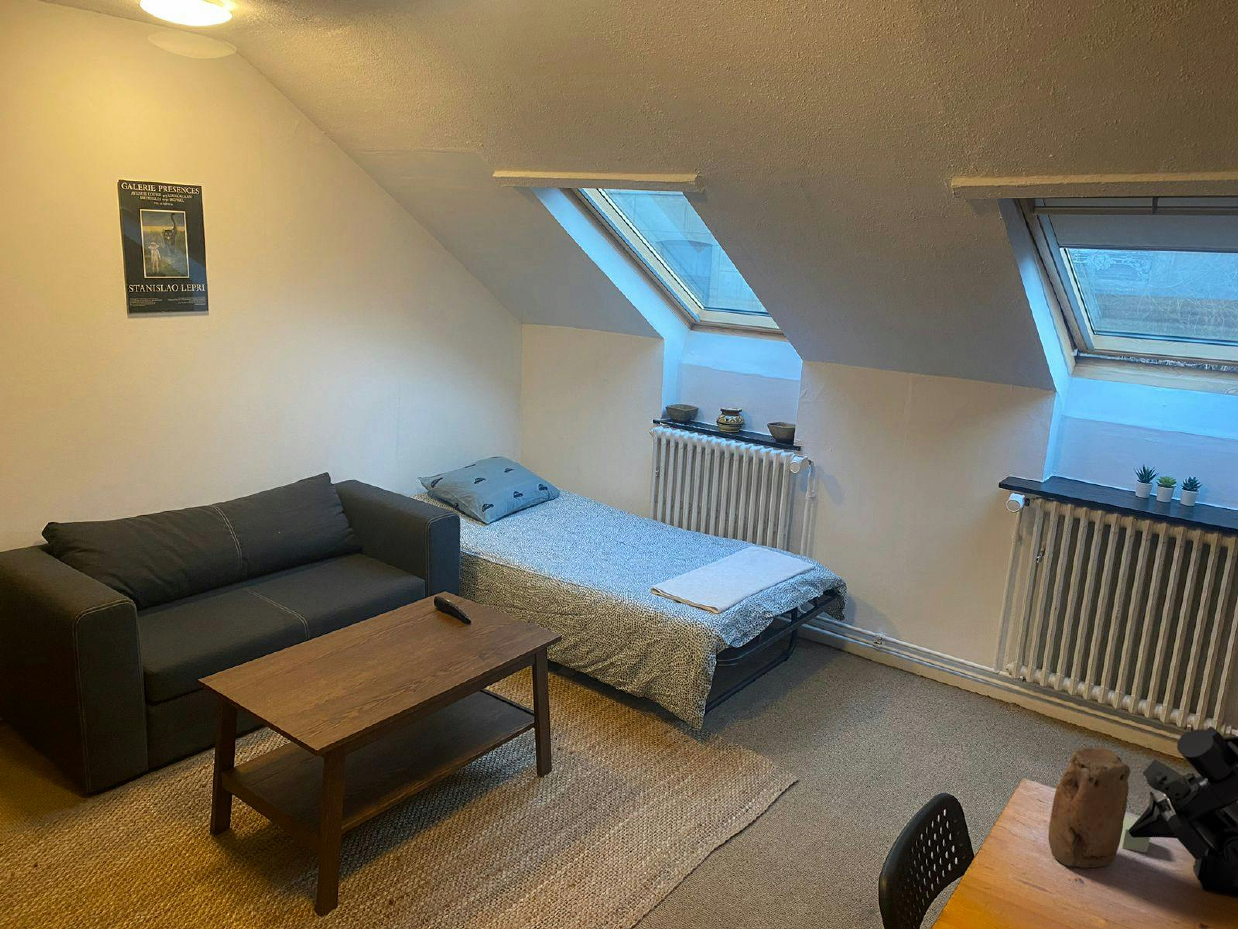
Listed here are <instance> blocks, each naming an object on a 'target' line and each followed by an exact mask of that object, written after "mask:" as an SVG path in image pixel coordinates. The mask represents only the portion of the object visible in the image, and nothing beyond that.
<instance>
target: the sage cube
mask: <svg viewBox="0 0 1238 929" xmlns="http://www.w3.org/2000/svg"><path fill="white" fill-rule="evenodd" d="M1138 819H1139V818H1133V817H1128V816H1125V817H1124V821H1123V830H1122V835H1121V839H1120V842H1121V843H1120V846H1121V845H1122V846H1121V848H1122V849H1127V850H1130V849H1131V851H1135V850H1136V852H1141V853H1145V852H1147V853H1148V849H1149V843H1150V839H1151V837H1140V838H1133V837H1132V836H1131V835H1130V834H1129V831H1128V830H1129V829H1130V828H1131V827H1132V825H1133V824H1134V823H1135V822H1136V821H1137V820H1138Z"/></svg>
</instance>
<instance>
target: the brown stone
mask: <svg viewBox="0 0 1238 929" xmlns="http://www.w3.org/2000/svg"><path fill="white" fill-rule="evenodd" d="M1130 775H1131V768H1130V766H1129V765H1128V764H1127V763H1124V762H1123V760H1122V759H1121V757H1120V756H1119V755H1118V754H1117V753H1115V752H1114V751H1112V750H1111V749H1109V748H1105V747H1092V748H1091V747H1084V748H1079V749H1077V750H1075V751H1073V752H1072V755H1071V760H1070V763H1069V766H1068V767H1067V768H1066V769H1065V772H1064V773H1063V774H1062V777H1061V778H1060V781H1059V782H1058V784H1057V786H1056V790H1055V793H1054V797H1053V800H1052V806H1051V812H1050V818H1049V825H1048V835H1047V836H1048V843H1049V848H1050V851H1051V852H1050V853H1051V854H1052V856H1053V858H1054V859H1055V860H1056V861H1057V862H1060V863H1061V864H1062V865H1065V866H1067V867H1080V868H1084V869H1085V868H1098V867H1104V866H1107V865H1109V864H1111V863H1113V861H1114V860H1115V859H1116V856H1117V853H1118V849H1119V846H1120V845H1121V843H1120V839H1121V835H1122V830H1123V821H1124V817H1126V811H1127V804H1128V795H1129V790H1130V789H1129V782H1128V780H1129V777H1130Z"/></svg>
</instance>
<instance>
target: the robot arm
mask: <svg viewBox="0 0 1238 929" xmlns="http://www.w3.org/2000/svg"><path fill="white" fill-rule="evenodd" d="M1176 744H1177V745H1176V748H1177V752H1178V753H1179V754H1180V755H1181V756H1182V757H1183V758H1184V759H1185V760H1186V761H1187V762H1188V764H1189V765H1190V766H1191V767H1192V768H1193V769H1194V770H1195V771H1196V772H1197V773H1198V775H1199V776H1197V775H1196V774H1195V773H1194V772H1188V773H1186V774H1184V775H1182V774H1181V773H1179V772H1177V771H1176V770H1175V769H1174V768H1173V767H1170V766H1168V765H1166V764H1165V763H1163V762H1161V761H1159V760H1157V759H1156V758H1154V759H1153V760H1152V761H1151V762H1150V764H1149V765H1148V766H1147V767H1146V768H1145V769H1144V771H1143V772H1142V774H1143V776H1145V778H1146V783H1147V784H1148V786H1150V788H1152V789H1153V790H1155V791H1158V792H1156V793H1153V792H1152V791H1150V792H1149V793H1148V794H1149V795H1148V796H1149V804H1148V807H1147V808H1146V810H1145V811H1144V812H1143V813H1142V814H1141V815H1140V816H1139V818H1137V819H1138V820H1137V821H1136V822H1135V823H1134V824H1133V825H1132V827H1131V828H1130V829H1129V830H1128V831H1129V834H1130V835H1131V836H1132V837H1133V838H1140V837H1150V838H1166V839H1177V840H1178V842H1180V844H1181V845H1182V846H1183V847H1184V848H1185V849H1186V850H1187V851H1188V853H1189V854H1190V855H1191V857H1193V858H1194V859H1195V860H1194V864H1193V866H1192V868H1193V873H1194V875H1195V877H1196V879H1197V880H1198V882H1199V883H1200V886H1201V889H1202V890H1204V891H1205V892H1209V893H1214V894H1219V895H1223V896H1229V897H1235V898H1238V736H1230V737H1224V736H1223V735H1222V734H1221V733H1220V732H1219V731H1218V730H1216V729H1215V728H1214V727H1213V726H1209V727H1208V728H1207V729H1200V728H1199V729H1194V730H1193V729H1192V730H1190V731H1186V732H1184V733H1183V734H1182V735H1181V736H1180V737H1179V739H1178V741H1177V742H1176Z"/></svg>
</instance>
